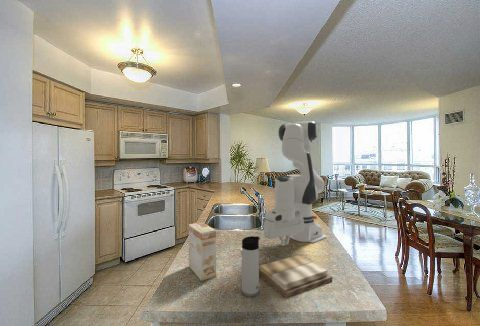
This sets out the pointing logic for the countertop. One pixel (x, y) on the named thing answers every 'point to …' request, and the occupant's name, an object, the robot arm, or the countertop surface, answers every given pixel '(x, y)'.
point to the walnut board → (298, 288)
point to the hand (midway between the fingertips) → (284, 244)
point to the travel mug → (250, 266)
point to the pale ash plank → (298, 275)
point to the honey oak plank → (283, 265)
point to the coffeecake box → (202, 250)
